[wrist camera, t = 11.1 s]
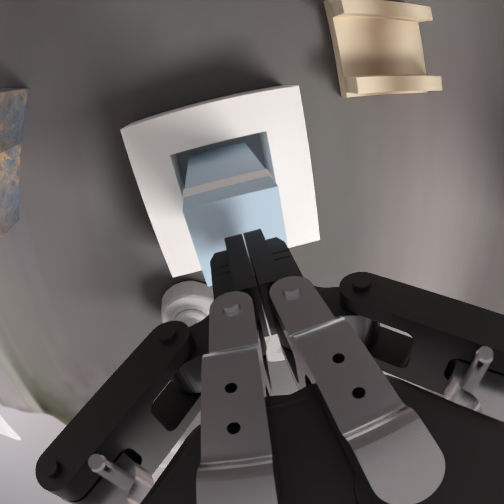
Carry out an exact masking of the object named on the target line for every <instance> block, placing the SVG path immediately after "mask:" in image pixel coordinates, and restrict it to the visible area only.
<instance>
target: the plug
mask: <svg viewBox="0 0 504 504" xmlns="http://www.w3.org/2000/svg"><path fill="white" fill-rule="evenodd" d="M182 197H183V209H182V210H183V214H184V217H185V220H186V223H187V226H188V229H189V232H190V235H191V238H192V242H193V245H194V248H195V251H196V254H197V257H198V260H199V263H200V266H201V268H202V271H203V274H204V277H205V280H206V283H207V286H208V287H210V286H212V276H211V267H210V260H211V259H212V257H213V255H214V253H217V252H221V251H224V250H226V245H225V240H224V238H226V237H230V236H234V235H238V234H241V233H242V236H243V240H244V243H245V239H244V235H243V233H245V232H249V231H253V230H257V229H261V230H262V233H263V235H264V237H265V240H267V239H271V238H274V237H277V238H279V239H281V240H282V241H284V242H285V243H286V245H287V247H288V243H287V237H286V231H285V224H284V218H283V212H282V206H281V200H280V194H279V188H278V185H277V184H276V183H275V181H274V180H273V179H272V176H271V174H270V172H269V171H268V170H267V169H265V168H264V167H263V165H262V164H261V163H260V161H259V160H258V159H257V158H256V156H255V155H254V154H253V152H252V151H251V150H250V148H249V147H248V146H247V145H246V143H245V142H242V143H238V144H234V145H229V146H225V147H221V148H217V149H213V150H209V151H205V152H201V153H197V154H194V155H190V156H189V159H188V166H187V174H186V182H185V189H183V196H182ZM245 246H246V243H245ZM246 250H247V247H246ZM247 253H248V251H247Z"/></svg>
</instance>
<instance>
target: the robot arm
mask: <svg viewBox="0 0 504 504" xmlns="http://www.w3.org/2000/svg"><path fill="white" fill-rule="evenodd" d="M243 235H244V239H245V243H246V246H245V243H244V240H243V236H242V233H241V234H238V235H234V236H230V237H226V238H224V240H225V245H226V250H224V251H221V252H217V253H214V255H213V257H212V259H211V260H210V267H211V276H212V287H213V297H214V301H213V302H212V304H211V305H210V309H209V315H208V316H207V317H206V318H204V319H203V320H201V321H200V322H198V323H196V324H194V325H192V326H190V327H188V326H187V324H185V323H184V322H182V321H168V322H165V323H163V324H161V325H159V326H157V327H156V328H155V329H154V330H153V331H152V332H151V333H150V334H149V335H148V336H147V337H146V338H145V339H144V341H143V342H142V343H141V344H140V345H139V346H138V347H137V348H136V349H135V350H134V351H133V353H132V354H131V355H130V356H129V357H128V358H127V359H126V360H125V361H124V362H123V364H122V365H121V366H120V367H119V368H118V369H117V370H116V371H115V372H114V373H113V375H112V376H111V377H110V378H109V379H108V380H107V381H106V382H105V383H104V385H103V386H102V387H101V388H100V389H99V390H98V391H97V392H96V393H95V395H94V396H93V397H92V398H91V399H90V400H89V401H88V402H87V404H86V405H85V406H84V407H83V408H82V409H81V410H80V411H79V413H78V414H77V415H76V416H75V417H74V418H73V419H72V420H71V422H70V423H69V424H68V425H67V426H66V427H65V428H64V430H63V431H62V432H61V433H60V434H59V435H58V436H57V438H56V439H55V440H54V441H53V442H52V443H51V444H50V446H49V447H48V448H47V449H46V450H45V451H44V452H43V454H42V455H41V456H40V458H39V460H38V461H37V464H36V478H37V480H38V482H39V484H40V485H41V486H42V487H43V488H44V489H46V490H48V491H50V492H51V493H53V494H55V495H57V496H59V497H61V498H62V499H63V500H65V501H67V502H69V503H71V504H504V315H502V314H499V313H496V312H493V311H490V310H487V309H484V308H481V307H478V306H474V305H471V304H468V303H465V302H462V301H459V300H456V299H452V298H449V297H446V296H443V295H440V294H436V293H433V292H430V291H427V290H424V289H420V288H417V287H414V286H411V285H407V284H404V283H401V282H398V281H394V280H391V279H388V278H385V277H381V276H378V275H375V274H372V273H368V272H356V273H352V274H349V275H347V276H346V277H344V278H343V279H342V281H341V282H340V286H339V287H331V288H322V287H316V286H313V284H312V283H311V282H310V281H309V280H308V279H306V278H304V277H303V276H302V274H301V272H300V270H299V268H298V266H297V264H296V262H295V260H294V258H293V256H292V255H291V253H290V251H289V249H288V247H287V245H286V243H285V242H284V241H282V240H281V239H279V238H277V237H274V238H271V239H267V240H265V237H264V235H263V233H262V230H261V229H257V230H253V231H249V232H245V233H243ZM246 247H247V250H246ZM247 251H248V253H247ZM262 306H263V307H262ZM263 309H264V311H263ZM264 313H265V315H264ZM265 316H266V319H267V323H268V326H269V329H270V333H271V335H275V334H278V338H279V341H280V345H281V350H282V353H283V355H284V358H285V360H286V362H287V365H288V367H289V369H290V371H291V374H292V376H293V378H294V381H295V383H296V385H297V388H298V390H299V391H297V392H295V393H293V394H290V395H280V396H274V393H273V387H272V381H271V375H270V369H269V363H268V357H267V353H266V350H267V346H266V341H265V338H264V337H268V336H269V332H268V328H267V324H266V320H265ZM380 323H382V324H385V325H388V326H390V327H393V328H396V329H399V330H401V331H404V332H407V333H408V334H410V335H411V336H412V337H413V338H411V337H408V336H406V335H403V334H400V333H397V332H395V331H392V330H389V329H386V328H384V327H381V326H380ZM382 371H385V372H387V373H389V374H392V375H394V376H397V377H399V378H402V379H404V380H407V381H409V382H412V383H414V384H417V385H419V386H422V387H425V388H427V389H430V390H432V391H435V392H438V393H440V394H443V395H445V398H443V397H440V396H438V395H435V394H433V393H431V392H428V391H426V390H424V389H421V388H419V387H417V386H415V385H412V384H410V383H408V382H405V381H403V380H401V379H398V378H395V377H392V376H388V375H384V373H383V372H382ZM170 380H171V381H170ZM169 381H170V383H169V384H168V382H169ZM167 384H168V385H167ZM166 385H167V386H166ZM165 386H166V388H165V389H164V390H163V388H164V387H165ZM162 390H163V391H162ZM161 391H162V392H161ZM160 392H161V394H160V395H159V393H160ZM158 395H159V396H158ZM157 396H158V397H157ZM156 397H157V399H156V400H155V398H156ZM154 400H155V401H154ZM153 401H154V402H153ZM152 403H153V404H152ZM200 410H201V424H200V425H199V426H197V427H196V428H195V429H194V430H193V431H192V432H191V433H190V434H189V436H188V437H187V438H186V439H185V441H184V442H183V444H182V445H181V447H180V448H179V450H178V451H177V453H176V454H175V455H174V457H173V458H172V460H171V461H170V463H169V464H168V465H167V467H166V468H165V470H164V471H163V473H162V474H161V475H160V477H159V478H158V480H157V481H156V482H155V484H154V482H153V478H152V474H153V473H154V472H155V470H156V469H157V468H158V466H159V465H160V464H161V463H162V461H163V460H164V459H165V457H166V456H167V455H168V453H169V452H170V451H171V449H172V448H173V447H174V445H175V444H176V443H177V441H178V440H179V439H180V437H181V436H182V435H183V433H184V432H185V431H186V429H187V428H188V426H189V425H190V424H191V422H192V421H193V420H194V418H195V417H196V415H197V414H198V413H199V411H200Z"/></svg>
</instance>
